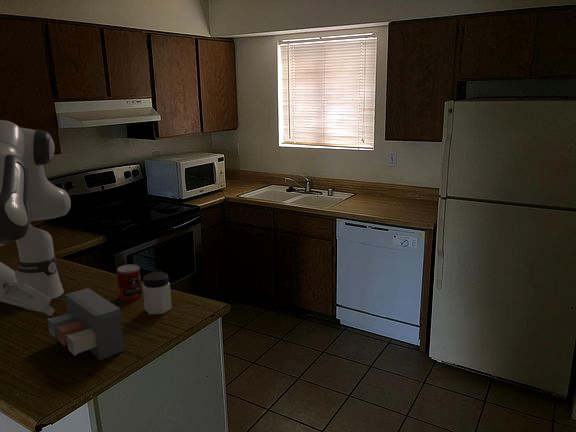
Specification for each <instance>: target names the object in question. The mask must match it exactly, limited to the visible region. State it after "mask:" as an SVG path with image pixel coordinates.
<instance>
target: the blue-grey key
mask: <svg viewBox="0 0 576 432" xmlns="http://www.w3.org/2000/svg"><path fill="white" fill-rule="evenodd" d="M47 322H48V323H47V324H48V331H49V332H48V333H49V334H51V336H53V337H54V338H58V333H57V326H59V327H60V326H63V325H66V324H69V323H73V322H76V321H75V316H74V315H73V314H71V313H68V314H67V313H64V314H61V315H59V316H56V317H52V318H49V317H48V318H47Z"/></svg>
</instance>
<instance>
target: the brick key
mask: <svg viewBox="0 0 576 432" xmlns="http://www.w3.org/2000/svg"><path fill="white" fill-rule="evenodd" d="M83 330H86V329H85V324H84V323H83V322H82V321H80V320H79V321H76V322H73V323H69V324H66V325H63V326H60V327H59V326H57V333H58V336H57V338H58V339H57V340H58V342H59V343H60V344H61V345H62V346H64V347H67V346H68V344H67V336H66V335H71V334H74V333H77V332H80V331H83Z"/></svg>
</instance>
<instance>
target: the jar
mask: <svg viewBox="0 0 576 432" xmlns="http://www.w3.org/2000/svg"><path fill="white" fill-rule="evenodd" d="M142 277H143V278H142V281H143V283H142V293H143V294H142V296H143V306H144V311H146V312H147V314H148V315H162V314H165V313H167V312H168V311H170V310H172V307H173V306H172V294H171V282H170V280H169V274H168V273H166V272H164V271H154V272H148V273H146V274H145V275H143V276H142Z"/></svg>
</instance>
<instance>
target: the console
mask: <svg viewBox="0 0 576 432" xmlns="http://www.w3.org/2000/svg"><path fill="white" fill-rule="evenodd" d="M64 297H65V306H66V314H68V313H71V314H73V315H74V316H75V321H79V320H80V321H82V322H83V323H84V324H85V329H89V328H91V329H92V330H93V331H94V332H96V341H97V347H94V348H91V349H89V350H88V352H90V353H91V354H92V355H93V356H95V357H96V358H97V360H99V361H102V360H104V359H107V358H109V357H113V356H114V355H117V354H120V353H122V352H124V351H125V345H124V335H123V325H122V315H121V314H122V313H121V308H120V307H118V306H117V305H115V304H114V303H112V302H110V301H109V300H108V299H106V298H105V297H103V296H101V295H100V294H98V293H97V292H95V291H94V290H92V289H91V288H89V287H87V288H84V289H79V290H77V291H73V292H69V293H65V294H64Z"/></svg>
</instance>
